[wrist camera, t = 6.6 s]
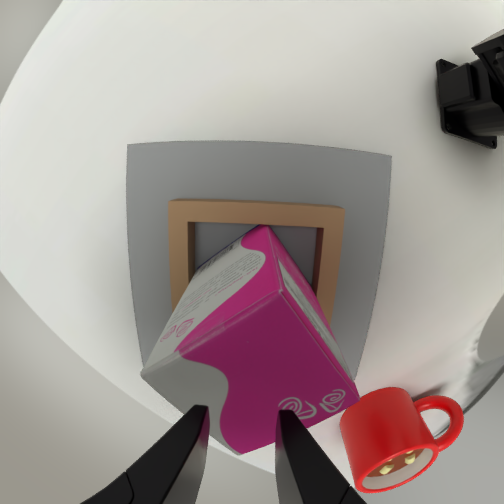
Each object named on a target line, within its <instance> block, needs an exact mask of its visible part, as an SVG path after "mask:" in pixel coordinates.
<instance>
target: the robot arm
mask: <svg viewBox="0 0 504 504" xmlns="http://www.w3.org/2000/svg"><path fill="white" fill-rule="evenodd" d="M471 49H472V50H473V52H474V53H475V55H477V56H478V57H479V59H478V60H475V61H473V62H471V63H465V64H462V65H460V66H457V65H455V64H453V63H451V62H448V61H446V60H443V59H440V60H438V61H437V71H438V83H439V94H440V104H441V121H442V129H443V131H444V132H445V133H447V134H450V135H453V136H456V137H459V138H462V139H465V140H468V141H471V142H474V143H476V144H479V145H482V146H485V147H487V148H490V149H496V147H497V136H502V135H504V29H503V30H501V31H499V32H497V33H495V34H493V35H491V36H490V37H488V38H486V39H485V40H483V41H482V42H480V43H478V44H477V45H475V46H474V47H472V48H471ZM441 63H442V64H443V66H444V67H443V66H442V64H441ZM447 125H448V127H449V130H448V128H447ZM209 431H210V417H209V407H208V406H207V405H199V404H195V405H193V406H192V407H191V408H190V409H189V410H188V411H187V412H186V413H185V415H184V416H183V417H182V418H181V419H180V420H179V421H177V422H176V423H175V424H174V425H173V426H172V427H171V428H170V429H169V430H168V431H167V432H166V433H165V434H164V435H163V436H162V437H161V438H160V439H159V440H158V441H157V442H156V443H155V444H154V445H153V446H152V447H151V448H150V449H148V451H146V452H145V453H144V454H143V455H142V456H141V457H140V458H139V459H138V460H137V461H136V462H135V463H133V464H132V465H131V466H130V467H129V468H128V469H127V470H126V472H123V473H122V474H121V475H120V476H119V477H118V478H116V479H115V480H114V481H113V482H111V483H110V484H109V485H108V486H107V487H105V488H104V489H102V490H101V491H99V492H98V493H96V494H95V495H93V496H92V497H90V498H89V499H87V500H85V501H84V502H82V503H80V504H195V502H196V499H197V495H198V491H199V488H200V484H201V481H202V477H203V473H204V469H205V463H206V455H207V447H208V439H209ZM275 473H276V482H277V489H278V496H279V503H280V504H367V503H366V502H365V501H364V500H363V499H362V498H361V497H360V496H359V495H358V493H357V492H356V491H355V490H354V488H353V487H352V486H350V484H349V483H348V481H347V480H346V479H345V478H344V476H343V475H342V474H341V473H340V471H339V470H338V469H337V468H336V466H335V465H334V464H333V463H332V461H331V460H330V459H329V457H328V456H327V455H326V454H325V452H324V451H323V450H322V448H321V447H320V446H319V445H318V443H317V442H316V441H315V439H314V438H313V437H312V435H311V434H310V433H309V431H308V430H307V429H306V427H305V426H304V425H303V423H302V422H301V421H300V419H299V418H298V416H297V415H296V414H295V412H294V411H293V410H291V409H281V410H279V411H278V416H277V423H276V438H275ZM349 486H350V487H349Z"/></svg>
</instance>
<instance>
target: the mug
mask: <svg viewBox="0 0 504 504" xmlns="http://www.w3.org/2000/svg"><path fill="white" fill-rule="evenodd" d="M428 409H440V410H443V411H445V412H446V413H447V414H448V415H449V417H450V426H449V428H448V430H447V431H446V433H444V434H443V435H442V436H441V437H439V438H437V439H435V440H434V438H433V436H432V434H431V432H430V430H429V429H428V427H427V425H426V423H425V421H424V420H423V418H422V416H421V414H420V412H422V411H424V410H428ZM463 422H464V416H463V412H462V409H461V407H460V405H459V404H458V403H457V402H456V401H455V400H453V399H451V398H449V397H446V396H440V395H434V396H427V397H424V398H421V399H419V400H416V401H415V402H413V401H412V399H411V397H410V395H409V394H408V392H407V391H405V390H404V389H401V388H396V387H388V388H383V389H378V390H376V391H373V392H370V393H368V394H366V395H364V396H363V397H361V398H360V401H359V402H357V403H355V404H353V405H352V406H350V407H348V408H347V409H346V411H345V412H344V414H343V415H342V417H341V420H340V430H341V433H342V437H343V441H344V444H345V448H346V452H347V456H348V460H349V464H350V468H351V471H352V475H353V479H354V484H355V487H356V489H357V490H358V491H360V492H364V493H377V492H383V491H387V490H390V489H394V488H396V487H399V486H401V485H403V484H405V483H407V482H409V481H411V480H413V479H414V478H416V477H417V476H419V475H420V474H422V473H423V472H424V471H426V470H427V469H428V467H430V466H431V465H432V464H433V462H434V461H435V460H436V458H437V456H438V453H439V452H441V451H443V450H444V449H446V448H447V447H449V446H450V445H451V444H452V443H453V442H454V441H455V440H456V438H457V437H458V436H459V434H460V432H461V430H462V427H463Z"/></svg>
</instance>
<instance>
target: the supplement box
mask: <svg viewBox="0 0 504 504" xmlns="http://www.w3.org/2000/svg"><path fill="white" fill-rule="evenodd" d="M141 377H142V378H143V379H144V380H145V381H146V382H147V383H148V384H149V385H150V386H151V387H152V388H154V389H155V390H156V391H157V392H158V393H159V394H160V395H161V396H163V397H164V398H165V399H166V400H167V401H168V402H170V403H171V404H172V405H173V406H174V407H176V408H177V409H178V410H179V411H180V412H182V413H183V414H184V415H185V413H186V412H187V411H188V410H189V409H190V408H191V407H192V406H193V405H195V404H199V405H207V406H208V407H209V417H210V431H209V435H210V436H212V437H213V438H214V439H216V440H217V441H218V442H220V443H221V444H222V445H224V446H225V447H226V448H228V449H229V450H231V451H232V452H233V453H235V454H236V455H242V454H244V453H247V452H250V451H253V450H256V449H258V448H261V447H264V446H267V445H269V444H272V443H274V442H275V438H276V423H277V416H278V411H279V410H281V409H291V410H293V411H294V412H295V414H296V415H297V416H298V418H299V419H300V421H301V422H302V423H303V425H304V426H305V427H306V428H309V427H311V426H313V425H315V424H317V423H319V422H321V421H323V420H325V419H327V418H329V417H331V416H333V415H335V414H337V413H339V412H341V411H343V410H345V409H346V408H348V407H350V406H352V405H353V404H355V403H357V402H359V401H360V397H359V394H358V391H357V388H356V386H355V383H354V381H353V378H352V376H351V374H350V371H349V369H348V367H347V364H346V362H345V360H344V358H343V355H342V353H341V351H340V349H339V346H338V344H337V342H336V339H335V337H334V335H333V333H332V331H331V329H330V326H329V324H328V322H327V320H326V317H325V315H324V313H323V311H322V309H321V306H320V304H319V302H318V300H317V298H316V296H315V294H314V291H313V289H312V287H311V285H310V284H309V282H308V281H307V279H306V278H305V276H304V275H303V273H302V272H301V270H300V269H299V267H298V266H297V264H296V263H295V261H294V260H293V258H292V257H291V255H290V254H289V253H288V251H287V250H286V248H285V247H284V245H283V244H282V243H281V241H280V240H279V238H278V237H277V236H276V234H275V233H274V231H273V230H272V229H271V227H270V226H269V225H264V224H258V225H257V226H255V227H254V228H252V229H251V230H249V231H248V232H246V233H245V234H243V235H242V236H241V237H239V238H238V239H236V240H235V241H233V242H232V243H231V244H229V245H228V246H226V247H225V248H223V249H222V250H221V251H219V252H218V253H217V254H215V255H214V256H212V257H211V258H210V259H208V260H207V261H206V262H204V263H203V264H202V265H200V266H199V267H198V268H197V271H196V272H195V274H194V276H193V278H192V280H191V281H190V283H189V285H188V287H187V289H186V290H185V292H184V294H183V296H182V297H181V299H180V301H179V303H178V305H177V306H176V308H175V310H174V312H173V313H172V315H171V317H170V319H169V321H168V322H167V324H166V326H165V328H164V330H163V332H162V334H161V336H160V337H159V339H158V341H157V343H156V345H155V347H154V349H153V350H152V352H151V354H150V356H149V358H148V360H147V362H146V364H145V366H144V368H143V369H142V371H141Z"/></svg>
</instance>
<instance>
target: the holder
mask: <svg viewBox="0 0 504 504" xmlns="http://www.w3.org/2000/svg"><path fill="white" fill-rule="evenodd" d="M391 158H392V156H390V155H384V154H378V153H371V152H365V151H358V150H350V149H342V148H334V147H325V146H315V145H304V144H292V143H277V142H257V141H174V142H154V143H139V144H127V175H126V204H127V235H128V252H129V265H130V277H131V287H132V296H133V304H134V312H135V319H136V326H137V333H138V339H139V345H140V351H141V357H142V362H143V367H144V366H145V364H146V362H147V360H148V358H149V356H150V354H151V352H152V350H153V349H154V347H155V345H156V343H157V341H158V339H159V337H160V336H161V334H162V332H163V330H164V328H165V326H166V324H167V322H168V321H169V319H170V317H171V315H172V313H173V312H174V310H175V308H176V306H177V305H178V303H179V301H180V299H181V297H182V296H183V294H184V292H185V290H186V289H187V287H188V285H189V283H190V281H191V280H192V278H193V276H194V274H195V272H196V271H197V268H198V267H199V266H200V265H202V264H203V263H204V262H206V261H207V260H208V259H210V258H211V257H212V256H214V255H215V254H217V253H218V252H219V251H221V250H222V249H223V248H225V247H226V246H228V245H229V244H231V243H232V242H233V241H235V240H236V239H238V238H239V237H241V236H242V235H243V234H245V233H246V232H248V231H249V230H251V229H252V228H254V227H255V226H257V225H258V224H264V225H269V226H270V227H271V229H272V230H273V231H274V233H275V234H276V236H277V237H278V238H279V240H280V241H281V243H282V244H283V245H284V247H285V248H286V250H287V251H288V253H289V254H290V255H291V257H292V258H293V260H294V261H295V263H296V264H297V266H298V267H299V269H300V270H301V272H302V273H303V275H304V276H305V278H306V279H307V281H308V282H309V284H310V285H311V287H312V289H313V291H314V294H315V296H316V298H317V300H318V302H319V304H320V306H321V309H322V311H323V313H324V315H325V317H326V320H327V322H328V324H329V326H330V329H331V331H332V333H333V335H334V337H335V339H336V342H337V344H338V346H339V349H340V351H341V353H342V355H343V358H344V360H345V362H346V364H347V367H348V369H349V371H350V374H351V376H352V378H353V380H355V377H356V374H357V370H358V367H359V363H360V360H361V356H362V352H363V348H364V345H365V341H366V337H367V332H368V328H369V324H370V320H371V315H372V310H373V306H374V301H375V296H376V291H377V285H378V280H379V274H380V268H381V262H382V255H383V248H384V241H385V233H386V225H387V215H388V205H389V193H390V179H391Z"/></svg>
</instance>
